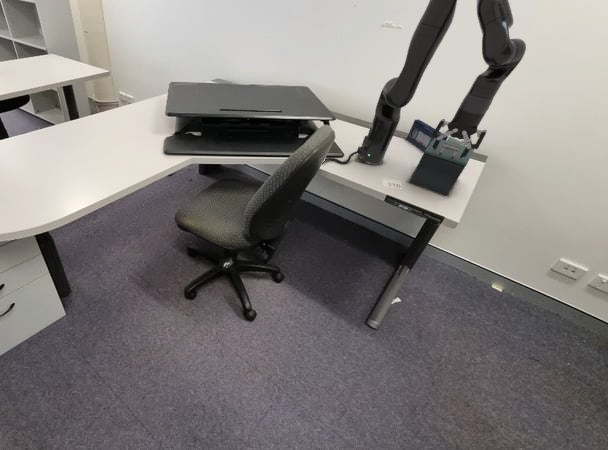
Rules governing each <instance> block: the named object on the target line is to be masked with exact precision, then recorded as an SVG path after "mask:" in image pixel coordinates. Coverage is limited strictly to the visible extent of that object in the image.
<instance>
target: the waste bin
mask: <svg viewBox="0 0 608 450" xmlns="http://www.w3.org/2000/svg"><path fill="white" fill-rule="evenodd" d="M465 168H466V166H464V165H461V164H457V163H454V162H451V161H448V160H445V159H442V158H438V157H435V156H432V155H429V154H426V153H424V152H423V154H422V156H421V157H420V160H419V161H418V164H417V166H416V167H415V169H414V171H413V173H412V175H411V177H410V179H409V181H408V183H409V184H412V185H415V186H417V187H420V188H423V189H425V190H427V191H431V192H434V193H436V194H440V195H442V196H445V197H447V196H448V195H449V193H450V192H451V190H452V189H453V187H454V185H455V184H456V183H457V181H458V179H459V177H460V176H461V175H462V173H463V171H464V170H465Z"/></svg>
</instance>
